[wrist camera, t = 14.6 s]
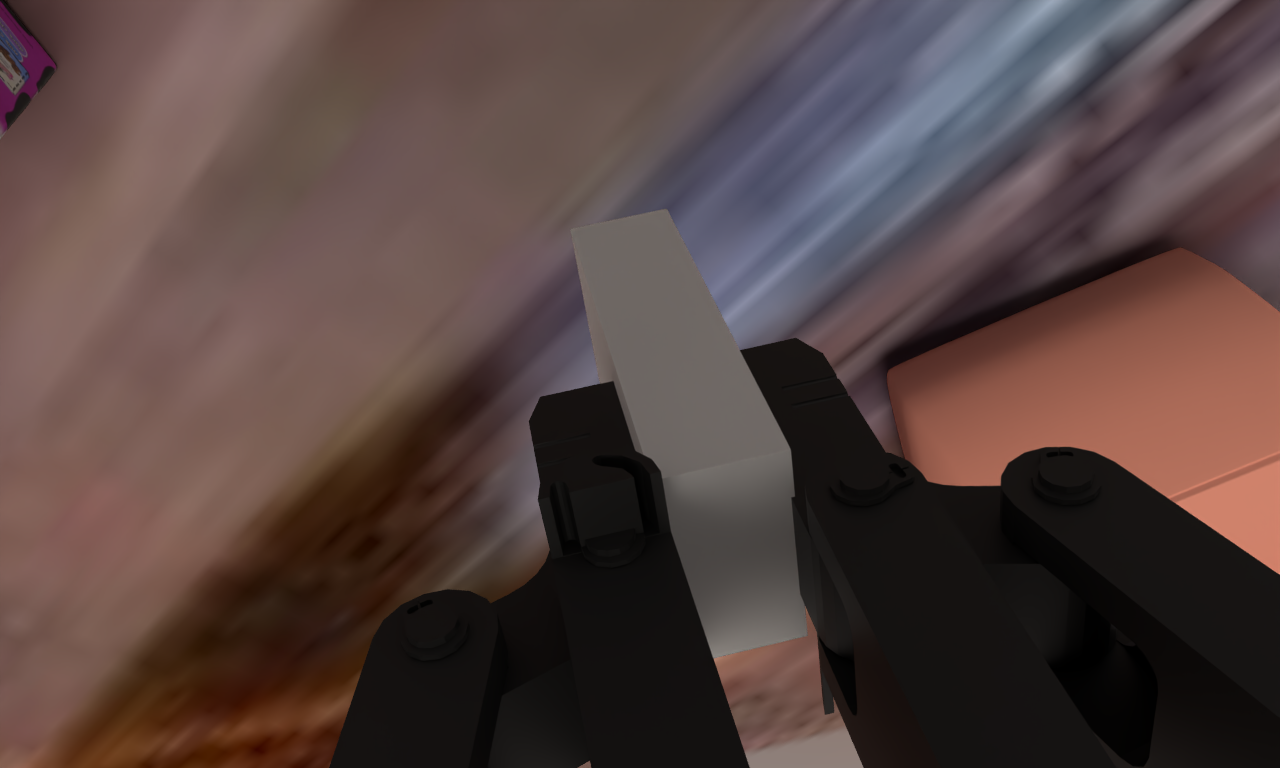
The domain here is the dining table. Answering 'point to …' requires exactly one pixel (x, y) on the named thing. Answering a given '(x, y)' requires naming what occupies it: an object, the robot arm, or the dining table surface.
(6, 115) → the candy bar box
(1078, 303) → the teapot
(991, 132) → the dining table surface
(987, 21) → the dining table surface
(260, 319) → the dining table surface
